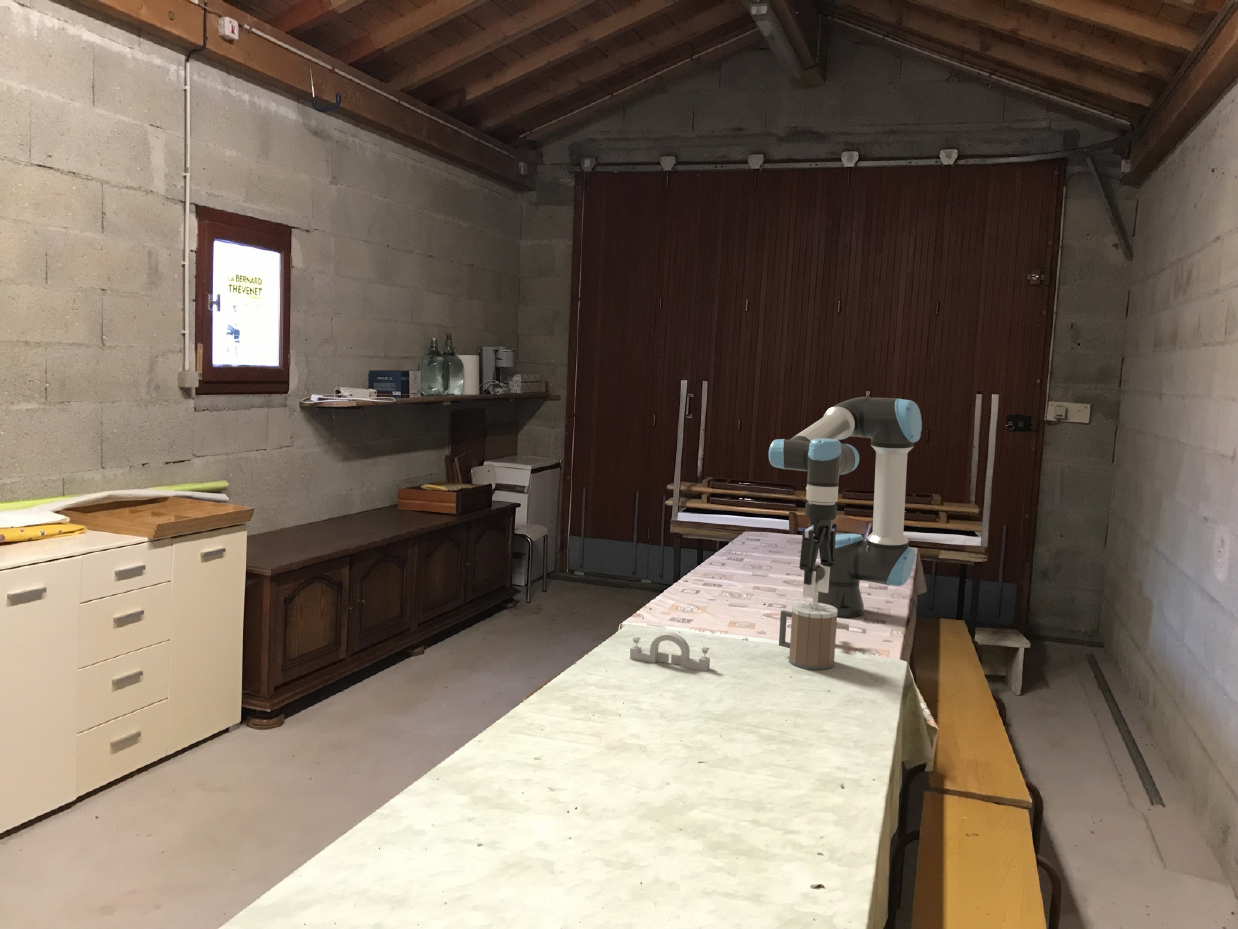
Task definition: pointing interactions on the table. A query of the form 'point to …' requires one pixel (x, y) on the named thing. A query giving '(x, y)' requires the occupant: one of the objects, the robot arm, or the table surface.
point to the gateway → (682, 660)
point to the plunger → (817, 583)
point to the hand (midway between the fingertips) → (815, 594)
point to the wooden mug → (810, 635)
